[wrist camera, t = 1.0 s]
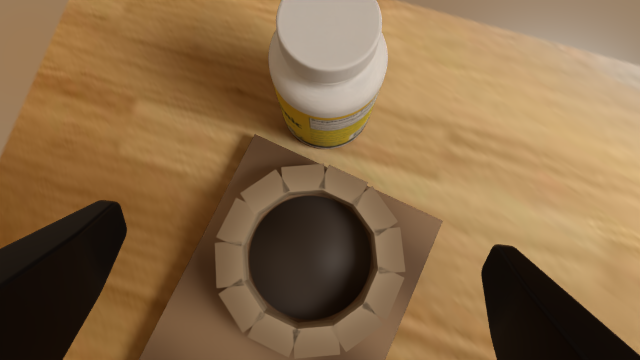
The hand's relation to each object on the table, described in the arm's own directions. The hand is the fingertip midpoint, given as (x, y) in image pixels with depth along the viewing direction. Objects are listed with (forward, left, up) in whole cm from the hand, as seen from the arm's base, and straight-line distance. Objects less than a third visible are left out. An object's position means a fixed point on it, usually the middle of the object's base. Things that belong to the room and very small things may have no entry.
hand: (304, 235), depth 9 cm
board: (-5, 0, -13) cm, 14 cm away
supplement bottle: (+8, +3, -14) cm, 16 cm away
